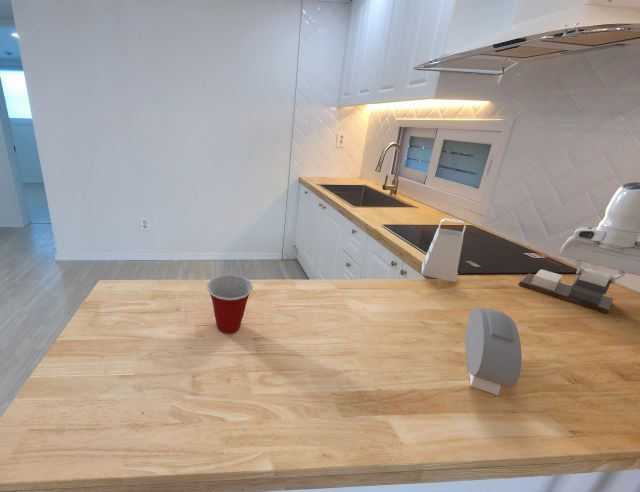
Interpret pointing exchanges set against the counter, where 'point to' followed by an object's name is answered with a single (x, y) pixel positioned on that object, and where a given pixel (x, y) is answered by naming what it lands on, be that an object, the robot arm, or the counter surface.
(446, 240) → the grater
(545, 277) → the white stack
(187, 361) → the counter surface
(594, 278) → the white book
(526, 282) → the shelf plank
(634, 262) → the robot arm
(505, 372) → the alarm clock
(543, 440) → the counter surface
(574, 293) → the grey stack
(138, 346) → the counter surface
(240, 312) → the plastic cup
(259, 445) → the counter surface
